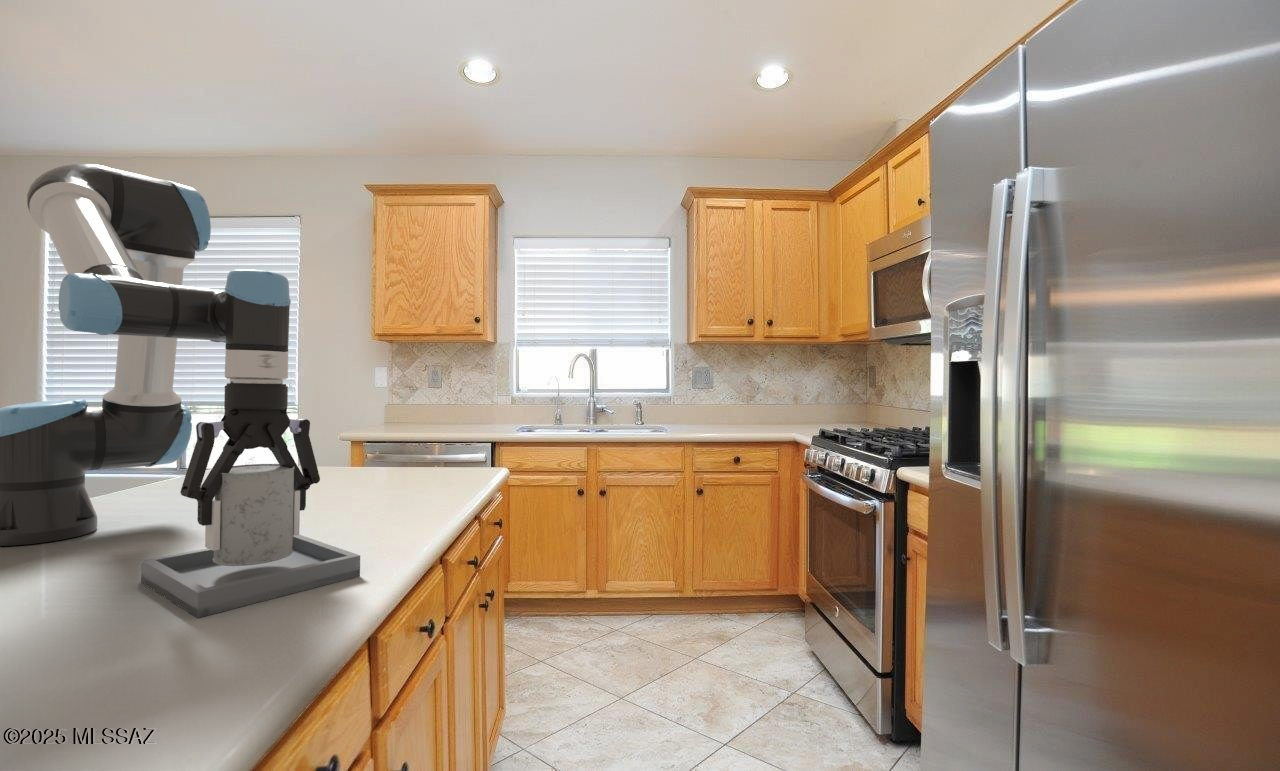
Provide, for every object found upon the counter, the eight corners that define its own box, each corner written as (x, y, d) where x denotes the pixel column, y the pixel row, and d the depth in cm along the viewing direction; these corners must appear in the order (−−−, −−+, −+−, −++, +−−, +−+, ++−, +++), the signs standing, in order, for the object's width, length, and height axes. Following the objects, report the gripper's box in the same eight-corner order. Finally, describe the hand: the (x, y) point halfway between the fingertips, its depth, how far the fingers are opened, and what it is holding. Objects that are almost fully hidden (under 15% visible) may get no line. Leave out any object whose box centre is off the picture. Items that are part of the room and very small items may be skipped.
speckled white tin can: (307, 548, 90) (309, 465, 90) (261, 567, 80) (263, 474, 80) (247, 545, 91) (249, 462, 90) (194, 563, 81) (196, 472, 81)
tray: (140, 582, 83) (141, 560, 83) (293, 550, 99) (294, 532, 99) (197, 618, 71) (197, 592, 71) (359, 576, 88) (360, 555, 88)
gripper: (171, 381, 74) (168, 563, 74) (348, 383, 92) (345, 530, 92) (150, 380, 78) (147, 552, 79) (323, 382, 96) (320, 522, 97)
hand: (254, 540), depth 85 cm, fingers closed on speckled white tin can, 9 cm apart
